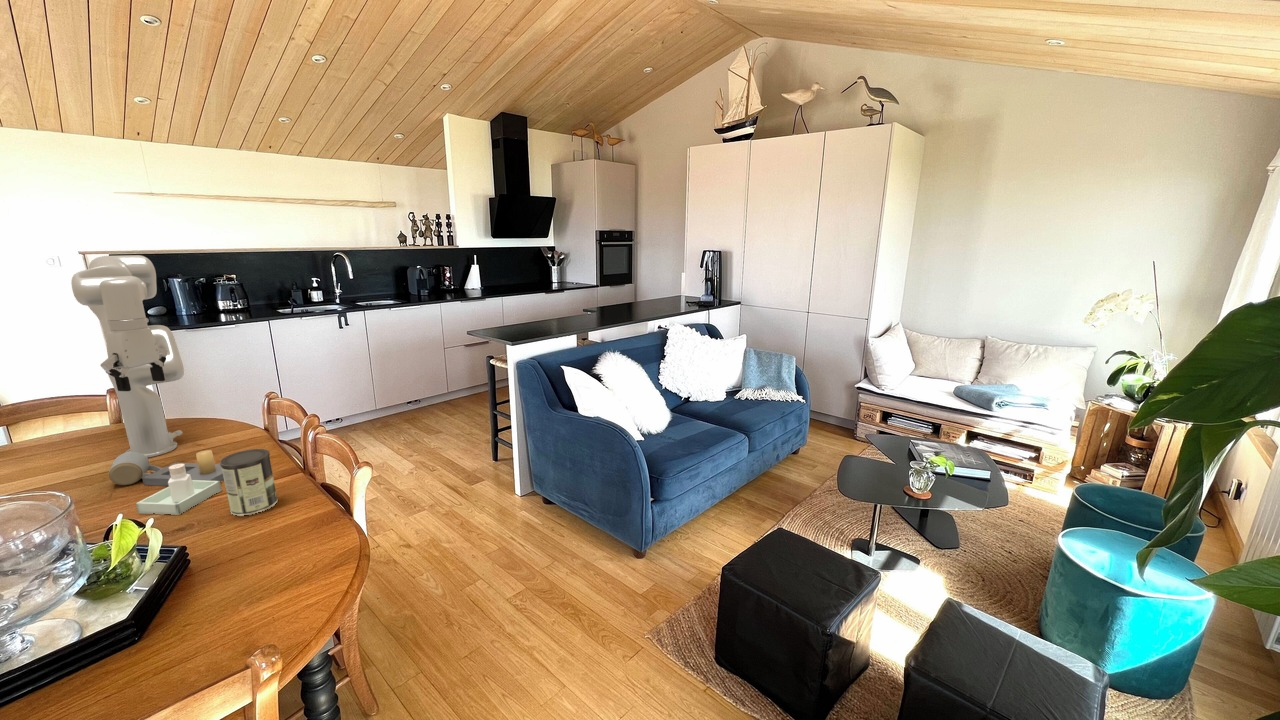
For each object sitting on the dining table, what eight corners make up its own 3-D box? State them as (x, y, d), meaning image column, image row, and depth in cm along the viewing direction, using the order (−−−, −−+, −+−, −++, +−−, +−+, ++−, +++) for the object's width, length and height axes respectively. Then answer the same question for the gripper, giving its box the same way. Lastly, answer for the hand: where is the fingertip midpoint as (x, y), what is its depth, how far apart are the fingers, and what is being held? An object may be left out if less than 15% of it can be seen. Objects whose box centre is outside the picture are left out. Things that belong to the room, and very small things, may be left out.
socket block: (176, 469, 158) (170, 444, 156) (239, 471, 156) (234, 446, 155) (144, 485, 148) (137, 458, 146) (211, 487, 147) (205, 460, 145)
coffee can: (259, 494, 143) (251, 446, 140) (287, 500, 140) (278, 451, 137) (219, 512, 134) (209, 461, 131) (248, 519, 131) (238, 468, 127)
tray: (184, 489, 146) (182, 479, 145) (221, 490, 145) (219, 480, 144) (138, 513, 133) (135, 503, 132) (179, 515, 132) (176, 504, 132)
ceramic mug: (110, 490, 145) (104, 464, 143) (116, 478, 152) (111, 454, 150) (160, 480, 151) (155, 456, 149) (165, 470, 157) (160, 446, 156)
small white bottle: (191, 500, 138) (184, 467, 136) (171, 503, 137) (164, 470, 134) (195, 493, 142) (188, 461, 140) (176, 497, 140) (169, 464, 138)
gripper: (146, 319, 149) (159, 377, 153) (80, 330, 133) (96, 394, 137) (171, 320, 149) (183, 377, 153) (107, 331, 132) (123, 395, 136)
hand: (142, 385), depth 145 cm, fingers open, 9 cm apart
